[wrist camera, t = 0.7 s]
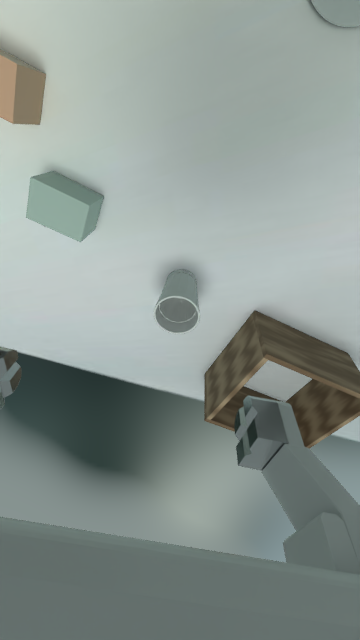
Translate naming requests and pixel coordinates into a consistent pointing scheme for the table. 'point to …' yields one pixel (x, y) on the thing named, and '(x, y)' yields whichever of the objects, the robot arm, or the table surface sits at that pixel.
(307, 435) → the walnut planter box
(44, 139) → the table surface
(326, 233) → the table surface
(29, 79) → the peach smooth rectangular block
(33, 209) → the pale green upright block
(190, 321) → the cup
